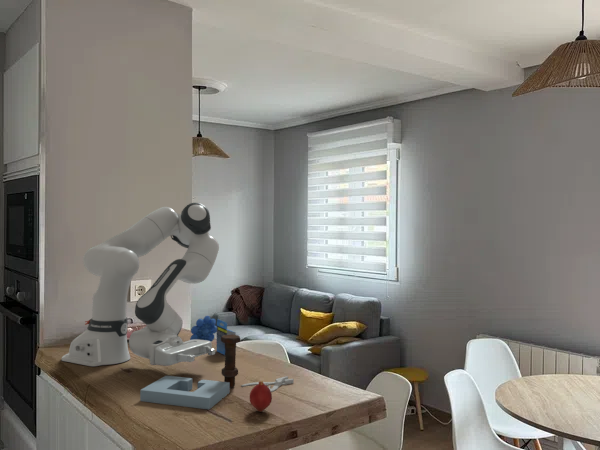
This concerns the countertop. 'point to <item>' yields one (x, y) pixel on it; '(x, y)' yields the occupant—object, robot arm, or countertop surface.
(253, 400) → the onion
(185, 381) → the pocket frame
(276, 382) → the pliers
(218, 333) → the label tape box
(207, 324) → the grapes
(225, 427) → the countertop surface
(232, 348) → the bolt
